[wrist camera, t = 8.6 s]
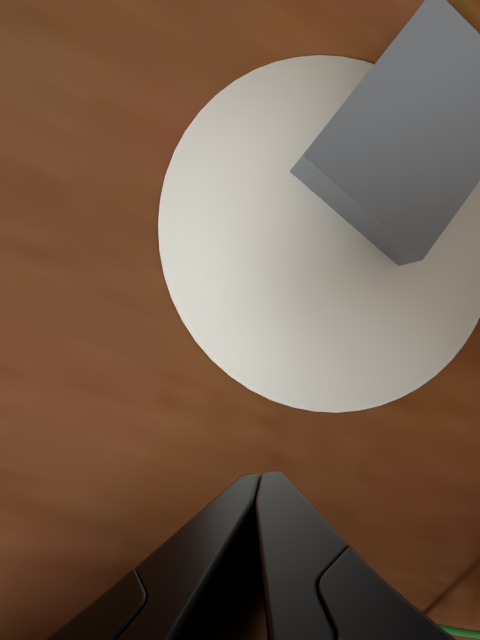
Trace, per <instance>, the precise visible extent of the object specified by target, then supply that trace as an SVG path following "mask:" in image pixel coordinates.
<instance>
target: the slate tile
mask: <svg viewBox="0 0 480 640" xmlns="http://www.w3.org/2000/svg"><path fill="white" fill-rule="evenodd" d="M290 172H291V173H292V174H293V175H294V176H295V177H297V178H298V179H299V180H300V181H301V182H302V183H303V184H305V185H306V186H307V187H308V188H309V189H310V190H311V191H313V192H314V193H315V194H316V195H317V196H318V197H320V198H321V199H322V200H323V201H324V202H325V203H326V204H328V205H329V206H330V207H331V208H332V209H333V210H335V211H336V212H337V213H338V214H339V215H340V216H341V217H343V218H344V219H345V220H346V221H347V222H348V223H350V224H351V225H352V226H353V227H354V228H355V229H356V230H358V231H359V232H360V233H361V234H362V235H363V236H365V237H366V238H367V239H368V240H369V241H370V242H371V243H373V244H374V245H375V246H376V247H377V248H378V249H379V250H381V251H382V252H383V253H384V254H385V255H386V256H388V257H389V258H390V259H391V260H392V261H393V262H394V263H396V264H397V265H398V266H401V265H405V264H409V263H413V262H417V261H422V260H423V259H424V257H425V256H426V255H427V253H428V252H429V250H430V249H431V248H432V246H433V245H434V244H435V242H436V241H437V239H438V238H439V237H440V235H441V234H442V232H443V231H444V230H445V228H446V227H447V226H448V224H449V223H450V221H451V220H452V219H453V217H454V216H455V214H456V213H457V212H458V210H459V209H460V208H461V206H462V205H463V203H464V202H465V201H466V199H467V198H468V196H469V195H470V194H471V192H472V191H473V190H474V188H475V187H476V185H477V184H478V183H479V181H480V34H479V33H478V32H477V31H476V30H475V29H474V28H473V27H472V26H471V25H470V24H469V23H468V22H467V21H466V20H465V19H464V18H463V17H462V16H461V15H460V14H459V13H458V12H457V11H456V10H455V9H454V8H453V7H452V6H451V5H450V4H449V3H448V2H447V1H446V0H425V1H424V2H423V3H422V5H421V6H420V7H419V8H418V9H417V11H416V12H415V13H414V14H413V16H412V17H411V18H410V19H409V21H408V22H407V23H406V24H405V26H404V27H403V28H402V29H401V31H400V32H399V33H398V35H397V36H396V37H395V38H394V40H393V41H392V42H391V43H390V45H389V46H388V47H387V48H386V50H385V51H384V52H383V54H382V55H381V56H380V57H379V59H378V60H377V61H376V62H375V64H374V65H373V66H372V67H371V69H370V70H369V71H368V73H367V74H366V75H365V76H364V78H363V79H362V80H361V81H360V83H359V84H358V85H357V86H356V88H355V89H354V90H353V91H352V93H351V94H350V95H349V97H348V98H347V99H346V100H345V102H344V103H343V104H342V105H341V107H340V108H339V109H338V110H337V112H336V113H335V114H334V116H333V117H332V118H331V119H330V121H329V122H328V123H327V124H326V126H325V127H324V128H323V129H322V131H321V132H320V133H319V135H318V136H317V137H316V138H315V140H314V141H313V142H312V143H311V145H310V146H309V147H308V148H307V150H306V151H305V152H304V154H303V155H302V156H301V157H300V159H299V160H298V161H297V162H296V164H295V165H294V166H293V167H292V169H291V170H290Z"/></svg>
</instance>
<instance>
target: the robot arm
mask: <svg viewBox="0 0 480 640" xmlns="http://www.w3.org/2000/svg"><path fill="white" fill-rule="evenodd" d="M267 638H268V640H456V639H455V638H453V637H452V636H451V635H450V634H448V633H447V632H446V631H445V630H443V629H442V628H441V627H440V626H439V625H437V624H436V623H435V622H434V621H432V620H431V619H430V618H429V617H427V616H426V615H425V614H424V613H423V612H421V611H420V610H419V609H418V608H416V607H415V606H414V605H413V604H411V603H410V602H409V601H408V600H407V599H405V598H404V597H403V596H402V595H401V594H400V593H398V592H397V591H396V590H395V589H394V588H393V587H391V586H390V585H389V584H388V583H387V582H386V581H384V580H383V579H382V578H381V577H380V576H379V575H378V574H377V573H376V572H375V571H374V570H373V569H372V568H371V567H370V566H369V565H368V564H367V563H366V562H365V561H364V560H363V559H362V558H361V557H360V556H359V555H358V553H357V552H356V551H355V550H354V549H353V548H351V547H350V546H349V545H348V544H347V542H346V541H345V540H344V539H343V538H342V537H341V536H340V535H339V534H338V533H337V532H336V531H335V529H334V528H333V527H332V526H331V525H330V524H329V523H328V522H327V521H326V520H325V519H324V518H323V516H322V515H321V514H320V513H319V512H318V511H317V510H316V509H315V508H314V507H313V506H312V505H311V503H310V502H309V501H308V500H307V499H306V498H305V497H304V496H303V495H302V494H301V493H300V492H299V491H298V489H297V488H296V487H295V486H294V485H293V484H292V483H291V482H290V481H289V480H288V479H287V478H286V476H285V475H284V474H283V473H282V472H280V471H276V472H268V473H263V474H262V475H261V476H260V475H259V474H252V475H244V476H241V477H240V478H238V479H237V480H236V481H235V482H234V483H233V484H231V485H230V486H229V487H228V488H227V489H226V490H225V491H223V492H222V493H221V494H220V495H219V496H218V497H216V498H215V499H214V500H213V501H212V502H211V503H210V504H208V505H207V506H206V507H205V508H204V509H203V510H201V511H200V512H199V513H198V514H197V515H196V516H195V517H193V518H192V519H191V520H190V521H189V522H188V523H186V524H185V525H184V526H183V527H182V528H181V529H180V530H178V531H177V532H176V533H175V534H174V535H173V536H171V537H170V538H169V539H168V540H167V541H166V542H164V543H163V544H162V545H161V546H160V547H159V548H158V549H156V550H155V551H154V552H153V553H152V554H151V555H149V556H148V557H147V558H146V559H145V560H144V561H143V562H141V563H140V564H139V565H138V566H137V567H136V568H135V570H131V571H130V572H129V573H128V574H126V575H125V576H124V577H123V578H122V579H121V580H119V581H118V582H117V583H116V584H115V585H114V586H112V587H111V588H110V589H109V590H108V591H106V592H105V593H104V594H103V595H101V596H100V597H99V598H98V599H97V600H95V601H94V602H93V603H92V604H91V605H89V606H88V607H87V608H85V609H84V610H83V611H81V612H80V613H79V614H78V615H76V616H75V617H74V618H72V619H71V620H70V621H68V622H67V623H66V624H64V625H63V626H62V627H61V628H59V629H58V630H57V631H55V632H54V633H53V634H51V635H50V636H49V637H47V638H46V639H44V640H267Z"/></svg>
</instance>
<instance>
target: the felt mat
mask: <svg viewBox="0 0 480 640" xmlns="http://www.w3.org/2000/svg"><path fill="white" fill-rule="evenodd" d="M373 65H374V64H372V63H369V62H366V61H362V60H357V59H352V58H347V57H342V56H325V55H316V56H303V57H295V58H291V59H286V60H282V61H277V62H274V63H271V64H269V65H266V66H263V67H261V68H258V69H256V70H253V71H252V72H250V73H248V74H246V75H244V76H243V77H241V78H239V79H237V80H235V81H234V82H233V83H231V84H230V85H229V86H227V87H226V88H225V89H223V90H222V91H221V92H219V93H218V94H217V95H216V96H215V97H214V98H213V99H212V100H211V101H210V102H209V103H208V104H207V105H206V106H205V107H204V108H203V109H202V110H201V111H200V112H199V113H198V115H197V116H196V117H195V119H194V120H193V121H192V123H191V124H190V126H189V127H188V128H187V130H186V131H185V133H184V135H183V137H182V138H181V140H180V142H179V144H178V146H177V148H176V150H175V151H174V154H173V156H172V159H171V162H170V165H169V167H168V170H167V173H166V175H165V180H164V184H163V189H162V193H161V198H160V208H159V219H158V232H159V251H160V257H161V262H162V268H163V273H164V277H165V280H166V283H167V286H168V289H169V292H170V296H171V299H172V301H173V303H174V305H175V307H176V309H177V311H178V313H179V315H180V317H181V320H182V321H183V323H184V324H185V326H186V328H187V329H188V331H189V332H190V334H191V335H192V337H193V338H194V340H195V341H196V342H197V344H198V345H199V346H200V347H201V348H202V349H203V351H204V352H205V353H206V354H207V355H208V356H209V358H210V359H211V360H212V361H213V362H215V363H216V364H217V365H218V366H219V367H220V368H221V369H222V370H224V371H225V372H226V373H227V374H228V375H229V376H231V377H232V378H233V379H235V380H236V381H238V382H239V383H241V384H242V385H244V386H245V387H247V388H248V389H250V390H252V391H254V392H256V393H258V394H260V395H262V396H264V397H266V398H268V399H270V400H272V401H275V402H278V403H281V404H284V405H287V406H290V407H294V408H299V409H304V410H310V411H315V412H336V413H338V412H349V411H359V410H364V409H368V408H372V407H377V406H381V405H383V404H386V403H388V402H391V401H394V400H396V399H399V398H401V397H403V396H405V395H407V394H408V393H410V392H412V391H414V390H416V389H418V388H419V387H421V386H422V385H423V384H425V383H426V382H427V381H429V380H430V379H432V378H433V377H434V376H436V375H437V374H438V373H439V372H440V371H441V370H442V369H443V368H444V367H445V366H446V365H447V364H448V363H449V362H450V361H451V360H452V359H453V358H454V357H455V355H456V354H457V353H458V352H459V350H460V349H461V348H462V347H463V345H464V344H465V343H466V341H467V339H468V338H469V336H470V335H471V333H472V331H473V330H474V328H475V326H476V325H477V322H478V320H479V318H480V181H479V183H478V184H477V185H476V187H475V188H474V190H473V191H472V192H471V194H470V195H469V196H468V198H467V199H466V201H465V202H464V203H463V205H462V206H461V208H460V209H459V210H458V212H457V213H456V214H455V216H454V217H453V219H452V220H451V221H450V223H449V224H448V226H447V227H446V228H445V230H444V231H443V232H442V234H441V235H440V237H439V238H438V239H437V241H436V242H435V244H434V245H433V246H432V248H431V249H430V250H429V252H428V253H427V255H426V256H425V257H424V259H423V260H422V261H417V262H413V263H409V264H405V265H401V266H398V265H397V264H396V263H394V262H393V261H392V260H391V259H390V258H389V257H388V256H386V255H385V254H384V253H383V252H382V251H381V250H379V249H378V248H377V247H376V246H375V245H374V244H373V243H371V242H370V241H369V240H368V239H367V238H366V237H365V236H363V235H362V234H361V233H360V232H359V231H358V230H356V229H355V228H354V227H353V226H352V225H351V224H350V223H348V222H347V221H346V220H345V219H344V218H343V217H341V216H340V215H339V214H338V213H337V212H336V211H335V210H333V209H332V208H331V207H330V206H329V205H328V204H326V203H325V202H324V201H323V200H322V199H321V198H320V197H318V196H317V195H316V194H315V193H314V192H313V191H311V190H310V189H309V188H308V187H307V186H306V185H305V184H303V183H302V182H301V181H300V180H299V179H298V178H297V177H295V176H294V175H293V174H292V173H291V172H290V170H291V169H292V167H293V166H294V165H295V164H296V162H297V161H298V160H299V159H300V157H301V156H302V155H303V154H304V152H305V151H306V150H307V148H308V147H309V146H310V145H311V143H312V142H313V141H314V140H315V138H316V137H317V136H318V135H319V133H320V132H321V131H322V129H323V128H324V127H325V126H326V124H327V123H328V122H329V121H330V119H331V118H332V117H333V116H334V114H335V113H336V112H337V110H338V109H339V108H340V107H341V105H342V104H343V103H344V102H345V100H346V99H347V98H348V97H349V95H350V94H351V93H352V91H353V90H354V89H355V88H356V86H357V85H358V84H359V83H360V81H361V80H362V79H363V78H364V76H365V75H366V74H367V73H368V71H369V70H370V69H371V67H372V66H373Z"/></svg>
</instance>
